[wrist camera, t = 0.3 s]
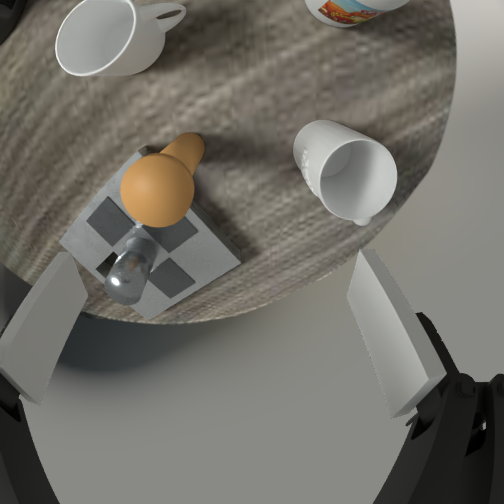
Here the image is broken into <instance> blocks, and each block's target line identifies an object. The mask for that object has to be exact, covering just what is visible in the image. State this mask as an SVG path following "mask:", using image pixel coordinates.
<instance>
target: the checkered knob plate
mask: <svg viewBox="0 0 504 504" xmlns="http://www.w3.org/2000/svg"><path fill="white" fill-rule="evenodd" d="M148 154H152V152H151V151H150V150H149V149H148V148H147V147H146V146H144V147H142V148H141V149H140V150H138V151H137V152H136V153H135V154H134V155H133V156H132V157H131V158H130V159H129V160H128V161H127V162H126V163H125V164H124V165H123V166H122V167H121V168H120V169H119V170H118V171H117V172H116V173H115V175H114V176H113V177H112V178H111V179H110V180H109V181H108V182H107V183H106V184H105V185H104V187H103V188H102V189H101V190H100V191H99V192H98V193H97V195H96V196H95V197H94V198H93V199H92V200H91V202H90V203H89V204H88V205H87V206H86V208H85V209H84V210H83V211H82V213H81V214H80V215H79V216H78V218H77V219H76V220H75V221H74V223H73V224H72V225H71V227H70V228H69V229H68V230H67V232H66V233H65V234H64V236H63V237H62V239H61V240H60V241H59V243H60V244H61V245H62V246H63V247H64V248H65V249H66V250H67V251H68V252H71V254H72V255H73V256H74V257H75V258H76V259H77V260H78V261H79V262H80V263H81V264H82V265H83V266H84V267H85V268H86V269H87V270H89V271H90V272H91V273H92V274H93V275H94V276H95V277H96V278H97V279H99V280H100V281H101V282H102V283H103V284H104V288H105V290H106V292H107V294H108V295H109V296H110V297H111V298H112V299H113V300H114V301H116V302H118V303H120V304H123V305H129V306H131V307H132V308H133V309H134V310H136V311H137V312H138V313H139V314H141V315H142V316H143V317H145V318H146V319H147V320H150V319H151V318H153V317H154V316H156V315H158V314H159V313H161V312H163V311H164V310H166V309H167V308H169V307H171V306H172V305H174V304H176V303H177V302H179V301H181V300H182V299H184V298H185V297H187V296H189V295H190V294H192V293H194V292H195V291H197V290H198V289H200V288H202V287H203V286H205V285H207V284H208V283H210V282H211V281H213V280H215V279H216V278H218V277H219V276H221V275H223V274H224V273H226V272H228V271H229V270H231V269H232V268H234V267H236V266H237V265H239V264H241V251H240V249H239V248H238V247H237V246H236V245H235V244H234V243H233V242H232V241H231V240H230V238H229V237H228V236H227V235H226V234H225V233H224V232H223V231H222V230H221V229H220V227H219V226H218V225H217V224H216V223H215V222H214V221H213V220H212V219H211V218H210V217H209V215H208V214H207V213H206V212H205V211H204V210H203V209H202V208H201V207H200V205H199V204H198V203H197V202H196V201H195V200H194V199H193V200H192V203H191V205H190V208H189V210H188V212H187V213H186V215H185V216H184V217H183V218H182V219H181V220H180V221H178V222H177V223H175V224H173V225H170V226H166V227H151V226H147V225H145V224H142V223H140V222H139V221H137V220H136V219H134V218H133V217H132V216H131V215H130V214H129V213H128V211H127V210H126V208H125V206H124V204H123V202H122V198H121V192H120V187H121V181H122V178H123V176H124V174H125V172H126V171H127V169H128V168H129V167H130V166H131V165H132V164H134V163H135V162H136V161H137V160H138V159H140V158H141V157H143V156H145V155H148ZM113 251H114V252H115V253H116V254H117V255H118V258H117V259H116V261H115V263H114V265H113V267H111V266H110V265H109V264H108V263H107V262H106V261H105V259H106V258H107V257H108V256H109V255H110V254H111V253H112V252H113Z"/></svg>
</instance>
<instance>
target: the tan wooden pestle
mask: <svg viewBox="0 0 504 504" xmlns="http://www.w3.org/2000/svg"><path fill="white" fill-rule="evenodd" d="M204 151H205V145H204V142H203V140H202V138H201V137H200V136H198V135H197V134H195V133H183V134H181V135H180V136H178V137H177V138H176V139H175V140H174V141H172V142H171V143H170V144H169V145H168V146H167V147H166V148H165V149H163V150H162V151H161V152H160V153H152V154H148V155H145V156H143V157H141V158H140V159H138V160H137V161H136V162H135V163H134V164H132V165H131V166H130V167H129V168H128V169H127V171H126V172H125V174H124V176H123V178H122V181H121V187H120V192H121V198H122V202H123V204H124V206H125V208H126V210H127V211H128V213H129V214H130V215H131V216H132V217H133V218H134V219H136V220H137V221H139V222H140V223H142V224H145V225H147V226H151V227H166V226H170V225H173V224H175V223H177V222H178V221H180V220H181V219H182V218H183V217H184V216H185V215H186V213H187V212H188V210H189V208H190V205H191V203H192V200H193V196H194V181H193V177H192V176H193V174H194V172H195V170H196V168H197V166H198V164H199V162H200V160H201V158H202V156H203V154H204Z"/></svg>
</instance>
